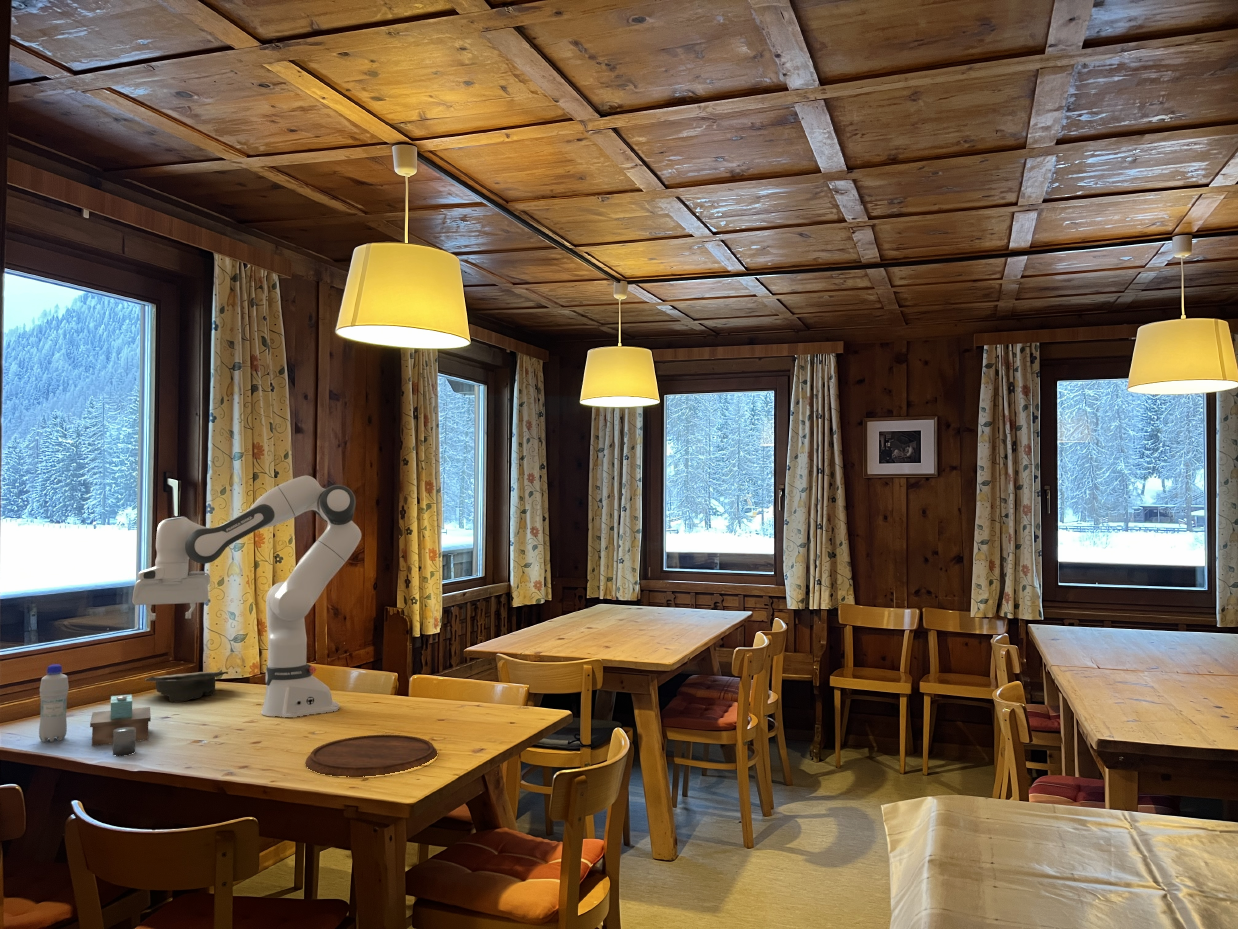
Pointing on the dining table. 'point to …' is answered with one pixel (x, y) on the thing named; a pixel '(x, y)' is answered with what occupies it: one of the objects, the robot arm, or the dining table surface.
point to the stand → (118, 725)
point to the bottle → (53, 704)
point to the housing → (121, 707)
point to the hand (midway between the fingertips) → (170, 619)
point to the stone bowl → (186, 685)
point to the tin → (124, 741)
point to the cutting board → (370, 755)
